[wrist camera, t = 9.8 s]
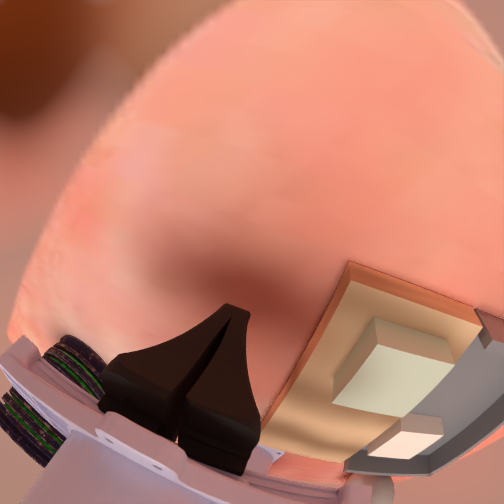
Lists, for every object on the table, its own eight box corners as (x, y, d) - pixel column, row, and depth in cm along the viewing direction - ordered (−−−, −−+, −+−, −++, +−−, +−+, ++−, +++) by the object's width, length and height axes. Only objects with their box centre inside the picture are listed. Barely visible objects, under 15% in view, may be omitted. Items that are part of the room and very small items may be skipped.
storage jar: (123, 403, 30) (67, 483, 17) (69, 366, 31) (11, 433, 18) (116, 363, 25) (36, 463, 12) (54, 320, 26) (-24, 396, 13)
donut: (357, 480, 26) (347, 541, 17) (335, 477, 26) (322, 540, 17) (401, 453, 21) (397, 531, 12) (376, 451, 21) (369, 532, 13)
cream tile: (408, 442, 19) (409, 459, 17) (368, 437, 20) (367, 455, 18) (441, 417, 17) (443, 435, 15) (400, 411, 17) (401, 431, 16)
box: (428, 455, 20) (429, 476, 18) (346, 447, 22) (343, 471, 19) (548, 339, 11) (562, 362, 9) (475, 308, 13) (492, 339, 10)
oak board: (342, 446, 22) (340, 463, 20) (259, 426, 23) (253, 442, 21) (472, 307, 13) (482, 327, 11) (349, 260, 14) (350, 280, 12)
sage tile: (400, 393, 14) (402, 417, 13) (333, 377, 15) (331, 403, 13) (446, 339, 12) (455, 364, 10) (374, 317, 13) (377, 344, 11)
